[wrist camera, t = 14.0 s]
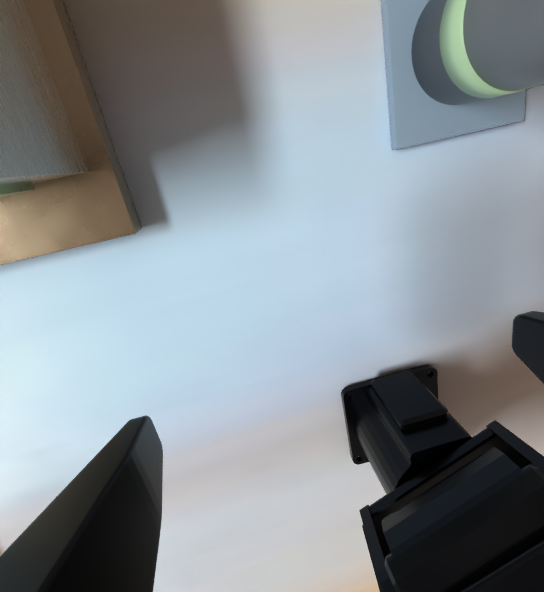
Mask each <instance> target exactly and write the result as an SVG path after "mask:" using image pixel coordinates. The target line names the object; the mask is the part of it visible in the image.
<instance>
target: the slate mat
mask: <svg viewBox="0 0 544 592" xmlns="http://www.w3.org/2000/svg"><path fill="white" fill-rule="evenodd" d="M429 1H430V0H381V6H382V20H383V34H384V49H385V63H386V77H387V91H388V105H389V119H390V133H391V147H392V150H395V149H401V148H405V147H410V146H414V145H418V144H423V143H427V142H432V141H436V140H440V139H445V138H449V137H454V136H458V135H462V134H467V133H471V132H476V131H480V130H484V129H489V128H493V127H498V126H502V125H506V124H511V123H515V122H520V121H524V114H525V97H526V90H524V91H520V92H516V93H511V94H507V95H503V96H498V97H494V98H484V99H480V100H476V101H472V102H467V103H463V104H459V105H447V104H443V103H440V102H438V101H435V100H434V99H432V98H431V97H430V96H428V95H427V94H426V93H425V92H424V90H423V89H422V88H421V86H420V84H419V83H418V81H417V78H416V76H415V73H414V69H413V64H412V54H411V50H412V39H413V34H414V30H415V27H416V24H417V21H418V19H419V17H420V15H421V13H422V11H423V9H424V8H425V6H426V4H427V3H428V2H429Z"/></svg>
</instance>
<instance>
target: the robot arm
mask: <svg viewBox="0 0 544 592" xmlns="http://www.w3.org/2000/svg"><path fill="white" fill-rule="evenodd" d="M512 348H513V350H514V352H515V354H516V355H517V356H518V357H519V358H520V359H521V360H522V361H523V362H524V364H525V365H526V366H527V367H528V368H529V369H530V370H531V371H532V372H533V373H534V374H535V375H536V376H537V377H538V378H539V379H540V380H541V381H542V382H543V383H544V312H536V311H531V312H527V313H523V314H520V315H517V316H516V317H515V318H514V320H513V332H512ZM428 372H430V373H429V374H427V373H428ZM350 393H352V394H351V395H350V396H347V395H348V394H350ZM341 397H342V403H343V409H344V416H345V422H346V428H347V434H348V441H349V447H350V453H351V458H352V460H353V462H354V463H355V464H362V463H366V462H370V464H371V466H372V467H373V469H374V471H375V473H376V475H377V477H378V479H379V481H380V483H381V485H382V487H383V488H384V490H385V492H386V494H387V495H385V496H384V497H382V498H381V499H379V500H378V501H376V502H375V503H373V504H372V505H370V506H369V505H367V506H365V507H364V508H362V509H361V510H360V514H361V518H362V521H363V525H362V527H363V531H364V535H365V538H366V542H367V546H368V549H369V553H370V557H371V560H372V564H373V568H374V571H375V575H376V579H377V582H378V586H379V590H380V592H544V456H542V455H541V454H540V453H538V452H537V451H536V450H534V449H533V448H532V447H530V446H529V445H528V444H526V443H525V442H524V441H522V440H521V439H520V438H518V437H517V436H516V435H514V434H513V433H512V432H510V431H509V430H508V429H506V428H505V427H504V426H502V425H501V424H500V423H498V422H497V421H496V420H495V421H493V422H492V423H490V424H489V425H487V426H486V427H487V428H486V429H485V430H483V431H482V432H480V433H479V434H477V435H476V436H474V437H473V438H472V437H471V436H470V435H469V433H468V432H467V431H466V430H465V429H464V428H463V427H462V426H461V425H460V424H459V423H458V422H457V421H456V420H455V419H454V418H453V417H452V415H451V414H450V413H449V412H448V410H447V408H446V407H445V406H444V405H443V404H442V403H441V402H440V401H439V400H438V382H437V370H436V369H435V368H434V367H433V366H431V365H425V366H421V367H417V368H414V369H410V370H406V371H403V372H399V373H396V374H392V375H388V376H385V377H381V378H377V379H374V380H370V381H366V382H363V383H359V384H355V385H352V386H348V387H346V388H344V389H343V390H342V392H341ZM359 456H360V457H359ZM162 470H163V450H162V444H161V441H160V439H159V436H158V434H157V432H156V429H155V427H154V425H153V422H152V420H151V419H150V417H149V416H142V417H138V418H135V419H131V420H129V421H128V422H127V423H126V424H125V425H124V426H123V428H122V429H121V430H120V431H119V432H118V433H117V434H116V435H115V436H114V437H113V438H112V439H111V440H110V441H109V442H108V443H107V444H106V445H105V446H104V448H103V449H102V450H101V451H100V452H99V453H98V454H97V455H96V456H95V457H94V458H93V459H92V460H91V461H90V462H89V463H88V464H87V465H86V466H85V468H84V469H83V470H82V471H81V472H80V473H79V474H78V475H77V476H76V477H75V478H74V479H73V480H72V481H71V482H70V483H69V484H68V485H67V487H66V488H65V489H64V490H63V491H62V492H61V493H60V494H59V495H58V496H57V497H56V498H55V499H54V500H53V501H52V502H51V503H50V504H49V505H48V507H47V508H46V509H45V510H44V511H43V512H42V513H41V514H40V515H39V516H38V517H37V518H36V519H35V520H34V521H33V522H32V523H31V524H30V525H29V526H28V528H27V529H26V530H25V531H24V532H23V533H22V534H21V535H20V536H19V537H18V538H17V539H16V540H15V541H14V542H13V543H12V544H11V545H10V546H9V548H8V549H7V550H6V551H5V552H4V553H3V554H2V555H1V556H0V592H153V586H154V578H155V570H156V562H157V554H158V546H159V538H160V529H161V519H162Z"/></svg>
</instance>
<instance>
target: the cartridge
mask: <svg viewBox="0 0 544 592" xmlns="http://www.w3.org/2000/svg"><path fill="white" fill-rule="evenodd" d="M411 54H412V64H413V69H414V73H415V76H416V78H417V81H418V83H419V84H420V86H421V88H422V89H423V90H424V92H425V93H426V94H427V95H428V96H430V97H431V98H432V99H434V100H435V101H438V102H440V103H443V104H447V105H459V104H463V103H467V102H472V101H476V100H480V99H484V98H494V97H498V96H503V95H507V94H511V93H516V92H520V91H524V90H527V89H530V88H532V87H535V86H540V85H544V0H430V1H429V2H428V3H427V4H426V6H425V8H424V9H423V11H422V13H421V15H420V17H419V19H418V21H417V24H416V27H415V30H414V34H413V39H412V50H411Z"/></svg>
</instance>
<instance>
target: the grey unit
mask: <svg viewBox="0 0 544 592" xmlns="http://www.w3.org/2000/svg"><path fill="white" fill-rule="evenodd" d="M140 229H141V225H140V222H139V220H138V217H137V214H136V211H135V208H134V205H133V202H132V199H131V196H130V194H129V191H128V188H127V185H126V182H125V179H124V176H123V173H122V170H121V168H120V165H119V162H118V159H117V156H116V153H115V150H114V147H113V144H112V142H111V139H110V136H109V133H108V130H107V127H106V124H105V121H104V118H103V115H102V113H101V110H100V107H99V104H98V101H97V98H96V95H95V92H94V89H93V87H92V84H91V81H90V78H89V75H88V72H87V69H86V66H85V63H84V61H83V58H82V55H81V52H80V49H79V46H78V43H77V40H76V37H75V35H74V32H73V29H72V26H71V23H70V20H69V17H68V14H67V11H66V9H65V6H64V3H63V0H0V265H1V264H6V263H10V262H14V261H19V260H23V259H27V258H32V257H36V256H40V255H44V254H49V253H53V252H57V251H62V250H66V249H70V248H75V247H79V246H83V245H87V244H92V243H96V242H100V241H105V240H109V239H113V238H118V237H122V236H126V235H131V234H135V233H136V232H137V231H139V230H140Z"/></svg>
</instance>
